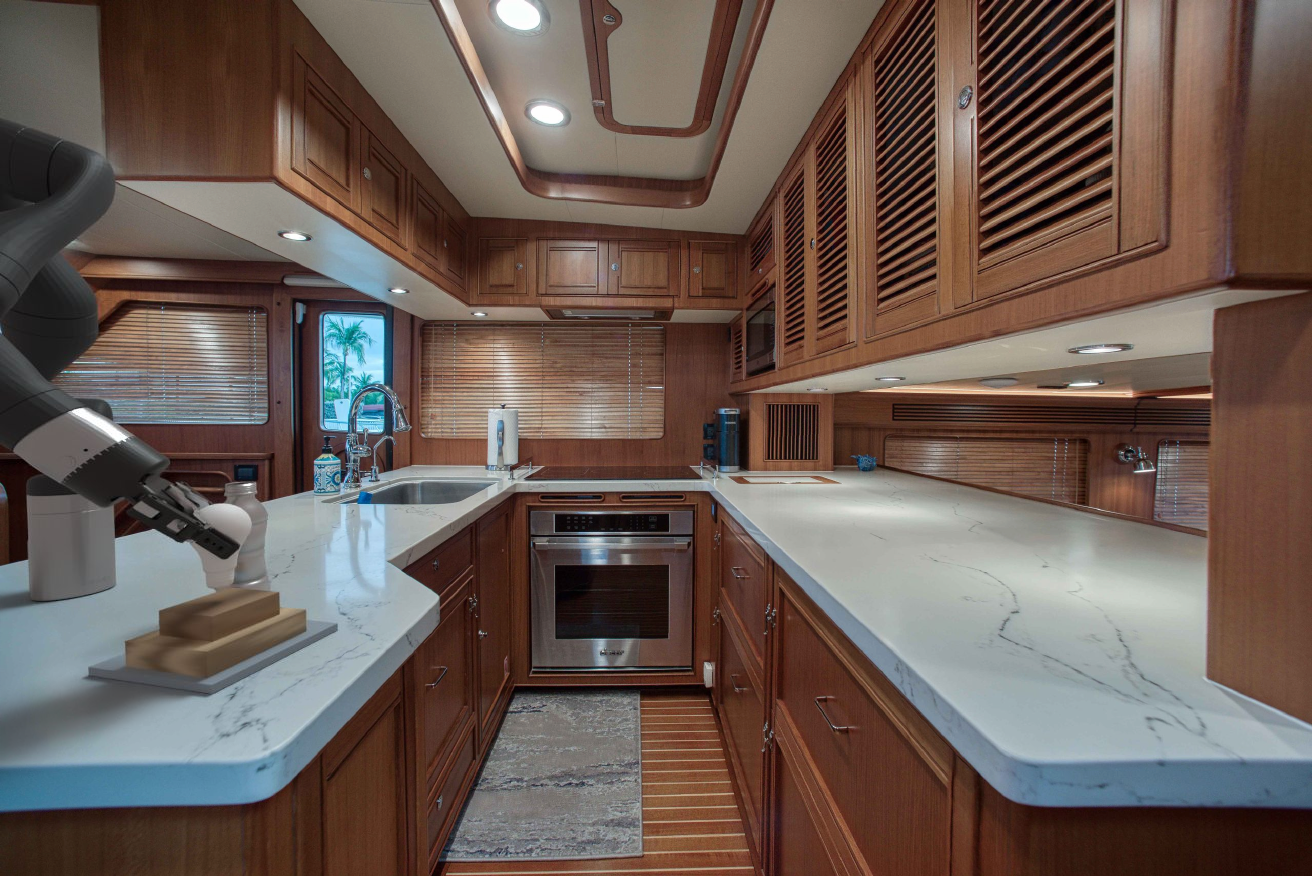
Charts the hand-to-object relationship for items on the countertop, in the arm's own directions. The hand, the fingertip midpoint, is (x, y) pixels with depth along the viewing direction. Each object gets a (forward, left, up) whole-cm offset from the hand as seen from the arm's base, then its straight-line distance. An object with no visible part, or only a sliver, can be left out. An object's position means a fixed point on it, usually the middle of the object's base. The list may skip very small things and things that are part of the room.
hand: (238, 546), depth 60 cm
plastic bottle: (-14, +11, -14) cm, 22 cm away
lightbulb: (-1, -1, -5) cm, 6 cm away
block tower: (-1, -1, -14) cm, 14 cm away
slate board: (-2, 0, -14) cm, 14 cm away
